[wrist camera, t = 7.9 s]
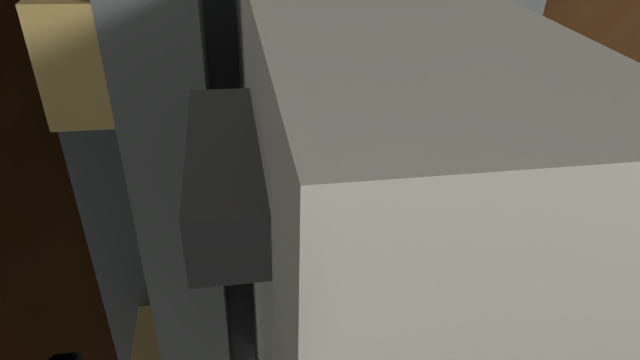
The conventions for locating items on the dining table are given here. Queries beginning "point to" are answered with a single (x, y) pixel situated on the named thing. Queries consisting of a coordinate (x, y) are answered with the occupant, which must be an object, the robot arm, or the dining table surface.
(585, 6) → the dining table surface
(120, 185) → the clip plinth
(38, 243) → the dining table surface
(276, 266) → the white rectangular block
